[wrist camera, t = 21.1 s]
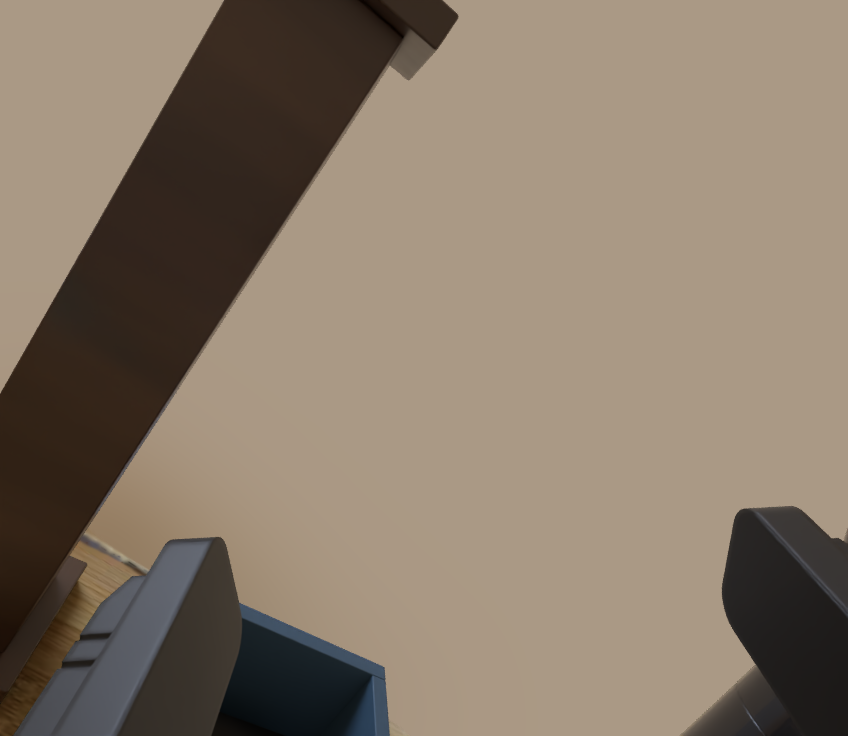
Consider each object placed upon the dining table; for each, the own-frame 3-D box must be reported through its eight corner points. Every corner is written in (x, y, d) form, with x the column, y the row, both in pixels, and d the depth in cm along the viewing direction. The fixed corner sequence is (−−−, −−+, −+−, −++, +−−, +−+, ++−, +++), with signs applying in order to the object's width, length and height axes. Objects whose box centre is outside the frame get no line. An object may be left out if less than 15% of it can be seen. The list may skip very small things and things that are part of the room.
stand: (-57, 522, 29) (283, -67, 22) (78, 578, 31) (425, 56, 25) (-194, 648, 22) (253, -175, 15) (-5, 710, 24) (460, 15, 17)
